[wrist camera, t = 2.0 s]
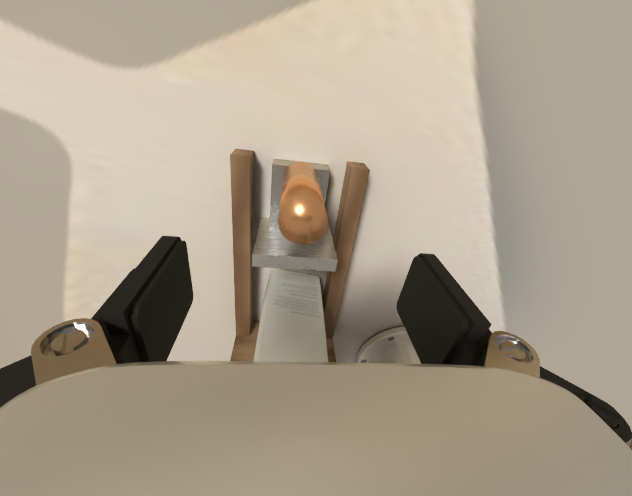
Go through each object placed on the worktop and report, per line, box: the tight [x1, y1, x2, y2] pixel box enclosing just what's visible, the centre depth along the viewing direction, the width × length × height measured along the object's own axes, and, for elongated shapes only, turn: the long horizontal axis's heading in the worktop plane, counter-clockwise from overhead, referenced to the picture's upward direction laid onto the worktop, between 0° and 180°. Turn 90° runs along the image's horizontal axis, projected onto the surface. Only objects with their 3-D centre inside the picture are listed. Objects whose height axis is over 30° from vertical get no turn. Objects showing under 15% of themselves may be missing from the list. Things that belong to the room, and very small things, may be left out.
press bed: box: [230, 149, 370, 362], centre depth 28 cm, size 12×24×8 cm, turn 173°
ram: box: [252, 159, 338, 272], centre depth 22 cm, size 7×8×11 cm
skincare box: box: [254, 268, 328, 362], centre depth 27 cm, size 8×6×15 cm
